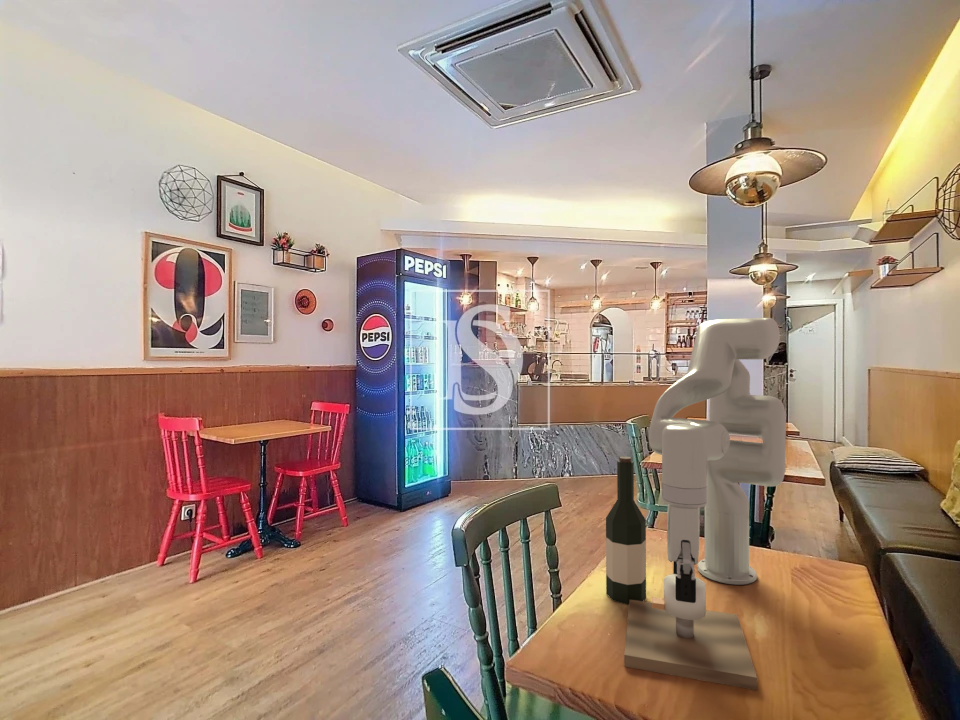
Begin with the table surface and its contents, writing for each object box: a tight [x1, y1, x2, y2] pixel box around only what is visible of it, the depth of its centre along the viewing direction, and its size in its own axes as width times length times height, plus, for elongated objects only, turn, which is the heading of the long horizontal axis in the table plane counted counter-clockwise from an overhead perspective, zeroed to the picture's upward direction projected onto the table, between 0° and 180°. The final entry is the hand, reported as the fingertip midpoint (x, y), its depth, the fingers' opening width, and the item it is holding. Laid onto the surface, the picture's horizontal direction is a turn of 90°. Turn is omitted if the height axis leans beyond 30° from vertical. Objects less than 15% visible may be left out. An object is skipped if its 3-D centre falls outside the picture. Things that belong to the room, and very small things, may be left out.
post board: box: [623, 600, 758, 691], centre depth 93 cm, size 20×20×6 cm
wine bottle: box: [605, 456, 647, 606], centre depth 112 cm, size 8×8×30 cm
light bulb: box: [651, 573, 707, 620], centre depth 94 cm, size 7×9×5 cm
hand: (684, 588), depth 93 cm, fingers open, 9 cm apart
